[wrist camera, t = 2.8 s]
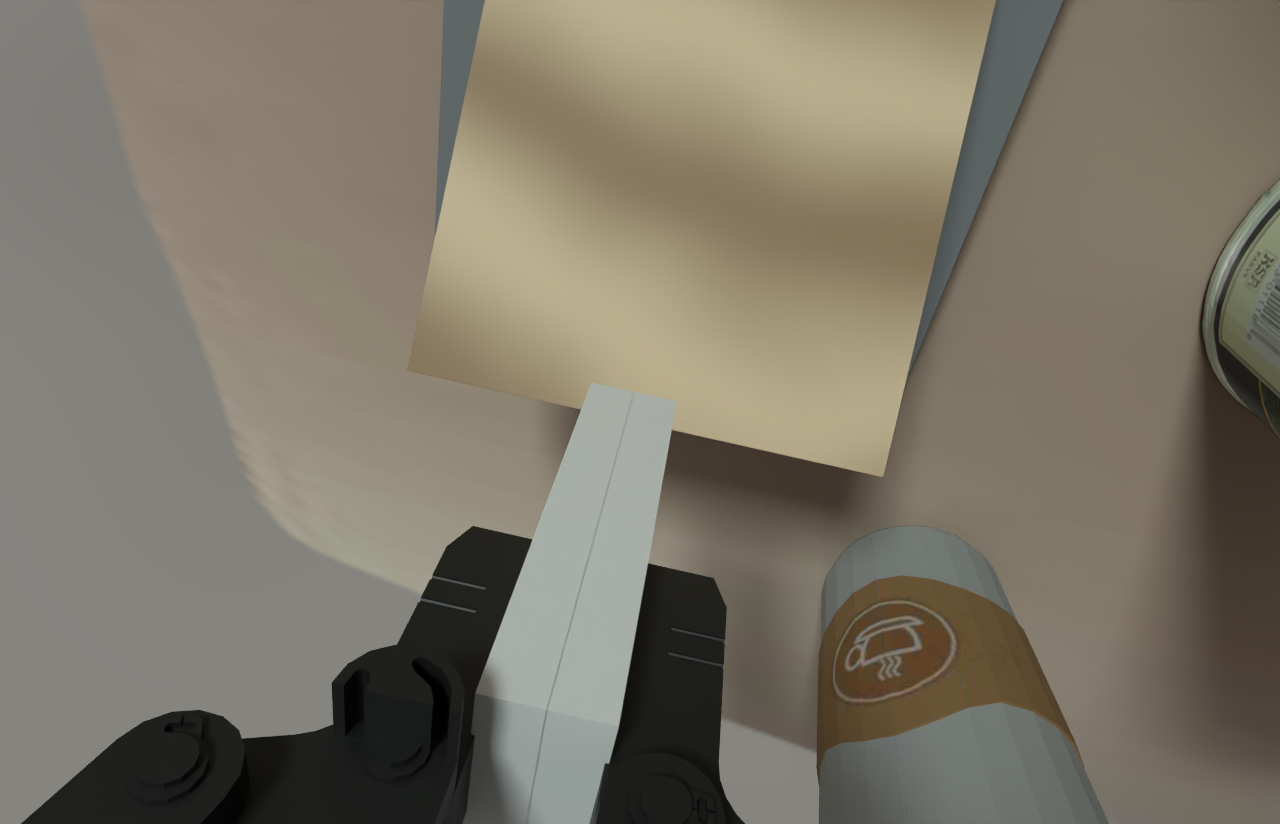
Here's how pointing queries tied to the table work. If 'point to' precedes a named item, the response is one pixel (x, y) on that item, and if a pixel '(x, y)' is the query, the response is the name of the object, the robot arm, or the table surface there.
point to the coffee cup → (936, 695)
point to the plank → (704, 209)
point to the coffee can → (1248, 312)
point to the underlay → (998, 94)
